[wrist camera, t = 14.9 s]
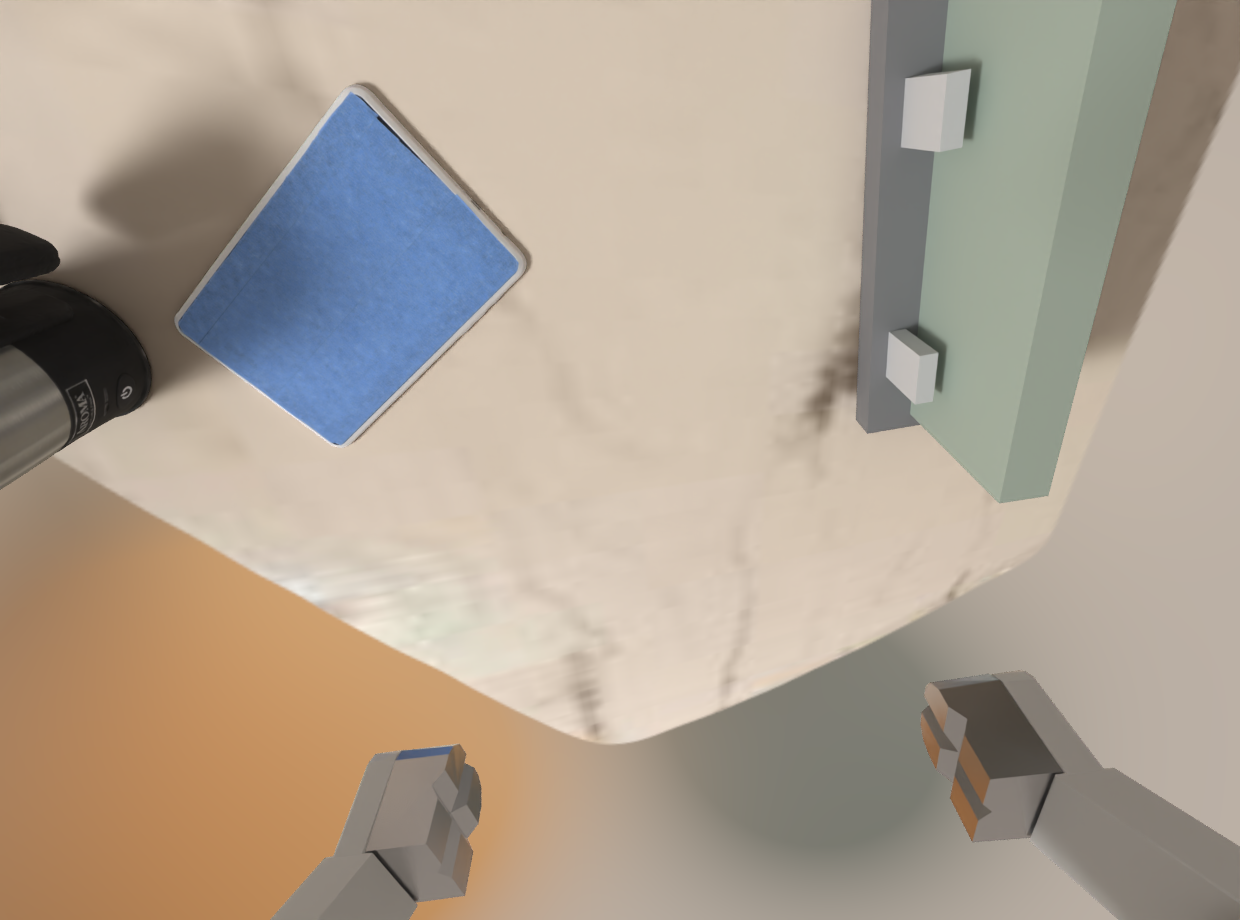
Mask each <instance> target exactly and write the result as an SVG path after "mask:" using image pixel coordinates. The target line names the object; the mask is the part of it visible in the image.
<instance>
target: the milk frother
mask: <svg viewBox="0 0 1240 920" xmlns="http://www.w3.org/2000/svg"><path fill="white" fill-rule="evenodd" d="M59 264H60V258H59V257H58V251H57V250H56V248H55V247H54V246H53V245H52V244H51V243H49V242H48V241H46V240H44V239H42V238H40V237H37V236H35V235H33V234H31V233H28V232H26V231H23V230H21V229H18V228H15V227H12V226H8V225H4V224H0V285H5V284H8V285H6V286H4V287H2V288H0V490H1V489H2V488H4V487H5V486H7V485H9V484H10V483H12V482H13V481H15V480H16V479H18V478H19V477H21V476H22V475H24V474H25V473H27V472H28V471H30V470H31V469H33V468H34V467H36V466H37V465H39V464H41V463H42V462H43V461H45V460H47V459H48V458H49V457H51V456H52V455H54V454H55V453H56V452H59V451H60V450H62V449H63V448H65V447H66V446H68V445H69V444H71V443H72V442H74V441H75V440H77V439H79V438H80V437H82V436H84V435H85V434H87V433H89V432H91V431H92V430H94V429H96V428H97V427H99V426H100V425H102V424H104V423H106V422H108V421H109V420H111V419H113V418H115V417H119V416H123V415H126V414H128V413H130V412H132V411H134V410H135V409H137V408H138V407H139V406H140V405H141V404H142V403H143V402H144V400H145V399H146V398H147V396H148V393H149V390H150V386H151V372H150V366H149V363H148V360H147V357H146V355H145V353H144V351H143V349H142V347H141V345H140V343H139V342H138V341H137V339H136V337H135V336H134V335H133V333H132V332H131V331H130V329H129V328H128V327H127V326H126V325H125V324H124V323H123V322H122V321H121V320H120V319H119V318H118V317H117V316H115V315H114V314H113V313H112V312H111V311H110V310H108V309H107V308H106V307H104V306H103V305H101V304H100V303H98V302H97V301H95V300H94V299H92V298H91V297H89V296H87V295H85V294H83V293H80V292H77V291H76V290H74V289H72V288H70V287H67V286H64V285H61V284H57V283H54V282H49V281H43V280H25V279H29V278H32V277H37V276H39V275H43V274H47V273H50V272H51V271H54V270H55V269H56V268H57V267H58V266H59ZM19 280H22V281H19ZM14 281H18V282H14ZM11 282H12V283H11Z"/></svg>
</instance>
